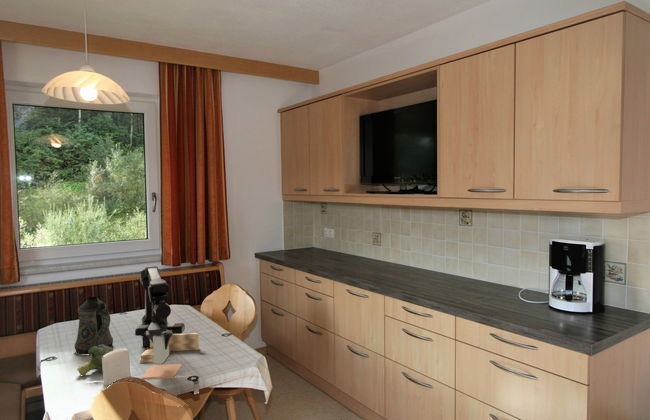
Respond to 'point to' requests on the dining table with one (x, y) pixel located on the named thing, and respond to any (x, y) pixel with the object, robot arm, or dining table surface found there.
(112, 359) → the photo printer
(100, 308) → the beer stein
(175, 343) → the rack
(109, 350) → the vegetable
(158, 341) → the tall pale grey block
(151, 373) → the mat
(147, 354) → the offcut top
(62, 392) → the dining table surface
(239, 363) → the dining table surface
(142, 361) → the offcut middle
